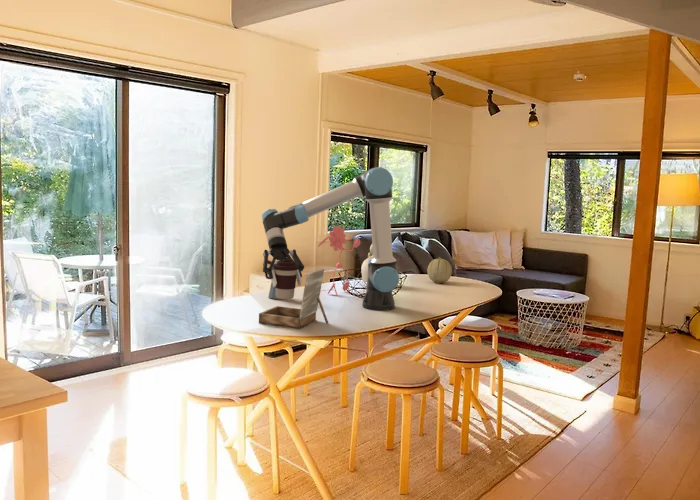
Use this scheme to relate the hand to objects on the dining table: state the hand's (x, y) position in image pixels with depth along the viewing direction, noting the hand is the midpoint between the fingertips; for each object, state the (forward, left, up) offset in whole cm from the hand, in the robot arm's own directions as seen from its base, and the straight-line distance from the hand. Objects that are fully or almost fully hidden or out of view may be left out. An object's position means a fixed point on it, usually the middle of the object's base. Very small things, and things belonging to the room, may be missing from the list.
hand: (287, 284), depth 234 cm
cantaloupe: (-37, -130, -16) cm, 136 cm away
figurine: (+6, -69, -16) cm, 71 cm away
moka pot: (+26, -42, -16) cm, 52 cm away
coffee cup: (+2, -2, -6) cm, 7 cm away
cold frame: (-3, -2, -16) cm, 16 cm away
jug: (-6, -100, -16) cm, 102 cm away
